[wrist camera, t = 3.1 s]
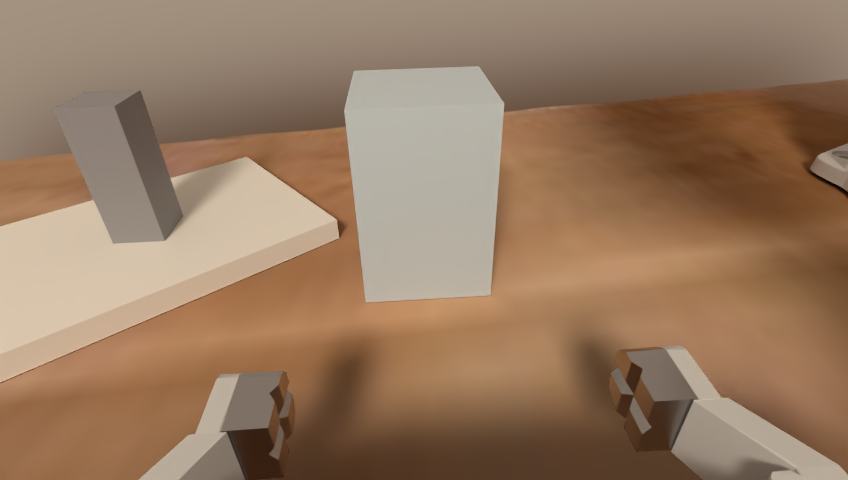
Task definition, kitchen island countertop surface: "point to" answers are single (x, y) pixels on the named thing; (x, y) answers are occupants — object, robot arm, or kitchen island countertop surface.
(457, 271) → the tall grey rectangular prism
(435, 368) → the kitchen island countertop surface
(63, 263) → the post board
